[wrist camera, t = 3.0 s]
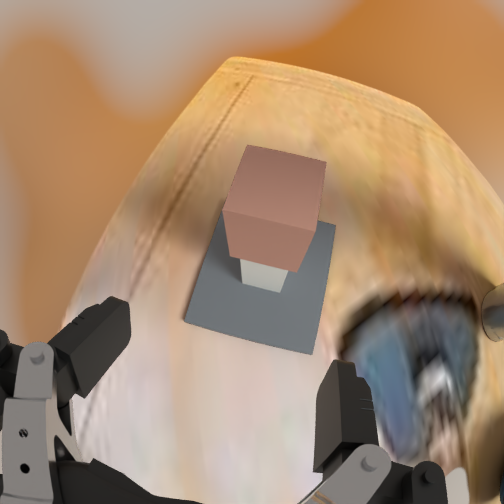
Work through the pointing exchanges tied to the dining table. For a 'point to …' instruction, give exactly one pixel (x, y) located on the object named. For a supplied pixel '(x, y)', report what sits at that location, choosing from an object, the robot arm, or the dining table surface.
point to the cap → (273, 207)
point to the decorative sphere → (502, 490)
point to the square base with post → (263, 294)
